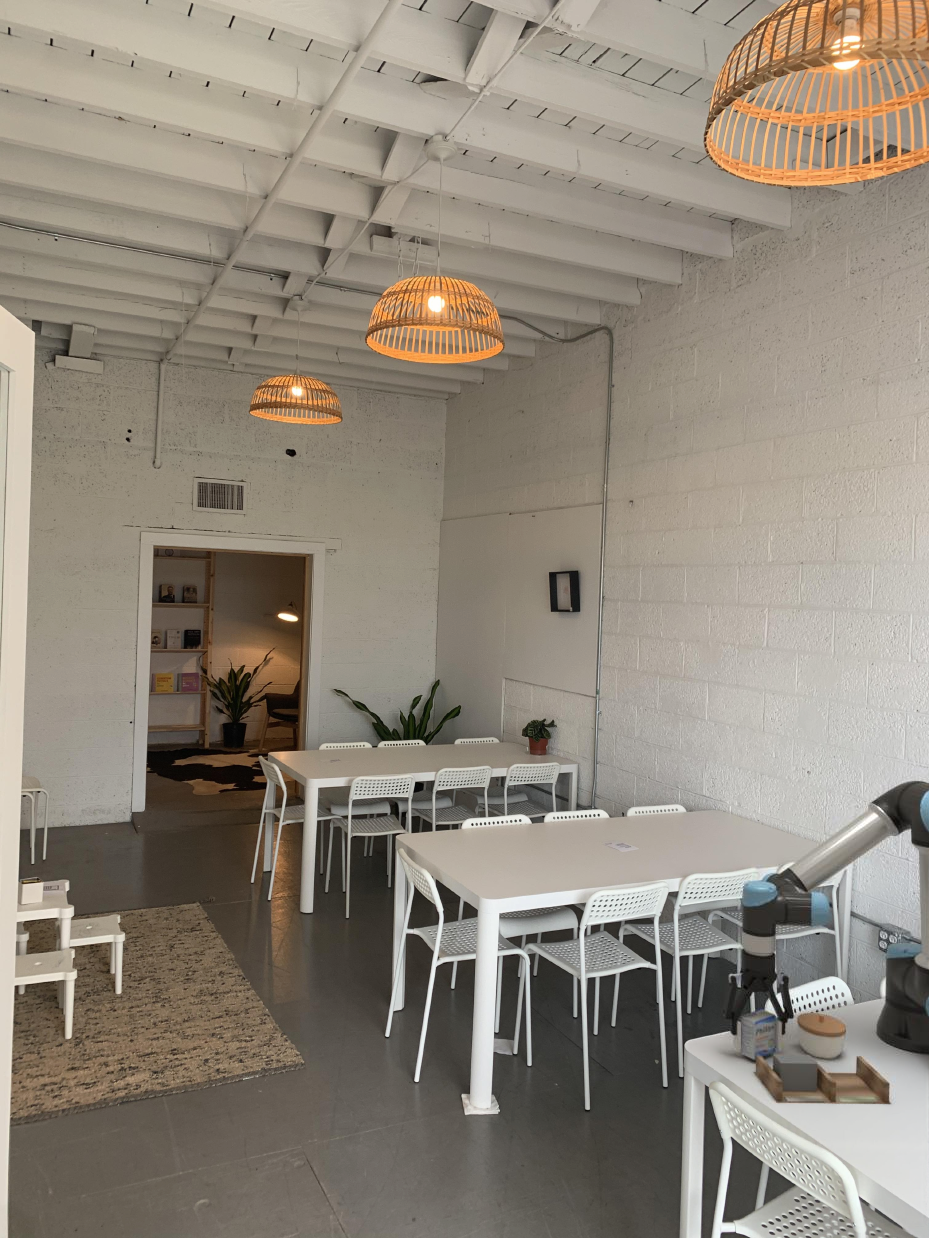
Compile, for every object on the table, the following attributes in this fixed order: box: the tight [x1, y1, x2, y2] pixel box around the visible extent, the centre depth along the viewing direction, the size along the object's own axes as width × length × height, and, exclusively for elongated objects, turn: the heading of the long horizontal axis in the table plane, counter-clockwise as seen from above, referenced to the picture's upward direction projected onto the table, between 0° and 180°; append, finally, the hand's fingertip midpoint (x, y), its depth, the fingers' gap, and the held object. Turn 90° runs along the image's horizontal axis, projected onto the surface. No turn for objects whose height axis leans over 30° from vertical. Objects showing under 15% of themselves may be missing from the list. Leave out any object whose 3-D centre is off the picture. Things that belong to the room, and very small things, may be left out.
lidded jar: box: [796, 1012, 847, 1060], centre depth 209 cm, size 11×11×9 cm
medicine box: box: [738, 1008, 777, 1061], centre depth 205 cm, size 8×4×9 cm, turn 124°
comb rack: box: [753, 1055, 892, 1105], centre depth 191 cm, size 13×24×5 cm, turn 93°
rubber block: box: [772, 1053, 818, 1092], centre depth 191 cm, size 8×4×6 cm, turn 93°
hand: (757, 1048), depth 205 cm, fingers closed on medicine box, 9 cm apart
